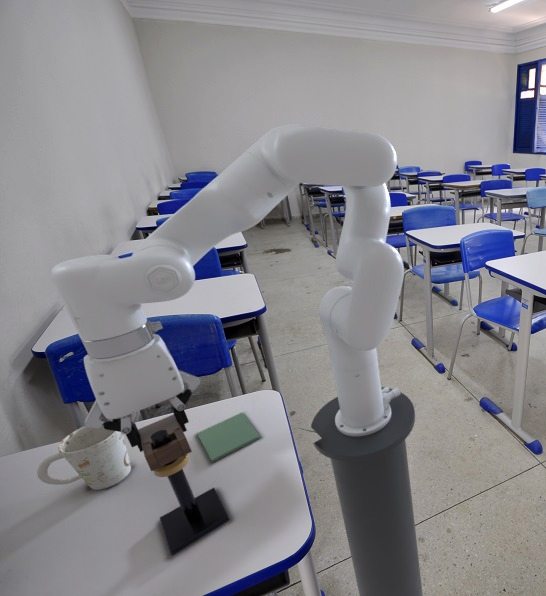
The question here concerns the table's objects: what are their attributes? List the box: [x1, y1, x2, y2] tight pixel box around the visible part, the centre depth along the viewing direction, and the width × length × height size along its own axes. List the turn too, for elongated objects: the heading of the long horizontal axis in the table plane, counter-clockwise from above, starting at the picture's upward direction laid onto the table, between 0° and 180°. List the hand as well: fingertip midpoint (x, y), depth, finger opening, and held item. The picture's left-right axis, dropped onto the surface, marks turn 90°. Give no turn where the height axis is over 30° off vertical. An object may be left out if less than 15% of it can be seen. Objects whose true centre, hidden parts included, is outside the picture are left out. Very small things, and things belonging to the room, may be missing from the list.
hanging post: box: [151, 430, 230, 556], centre depth 58 cm, size 8×8×18 cm
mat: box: [196, 412, 261, 463], centre depth 79 cm, size 9×11×1 cm
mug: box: [36, 425, 132, 491], centre depth 68 cm, size 8×13×10 cm, turn 124°
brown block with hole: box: [138, 413, 192, 472], centre depth 59 cm, size 12×5×2 cm, turn 44°
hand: (162, 436), depth 62 cm, fingers closed on brown block with hole, 5 cm apart
